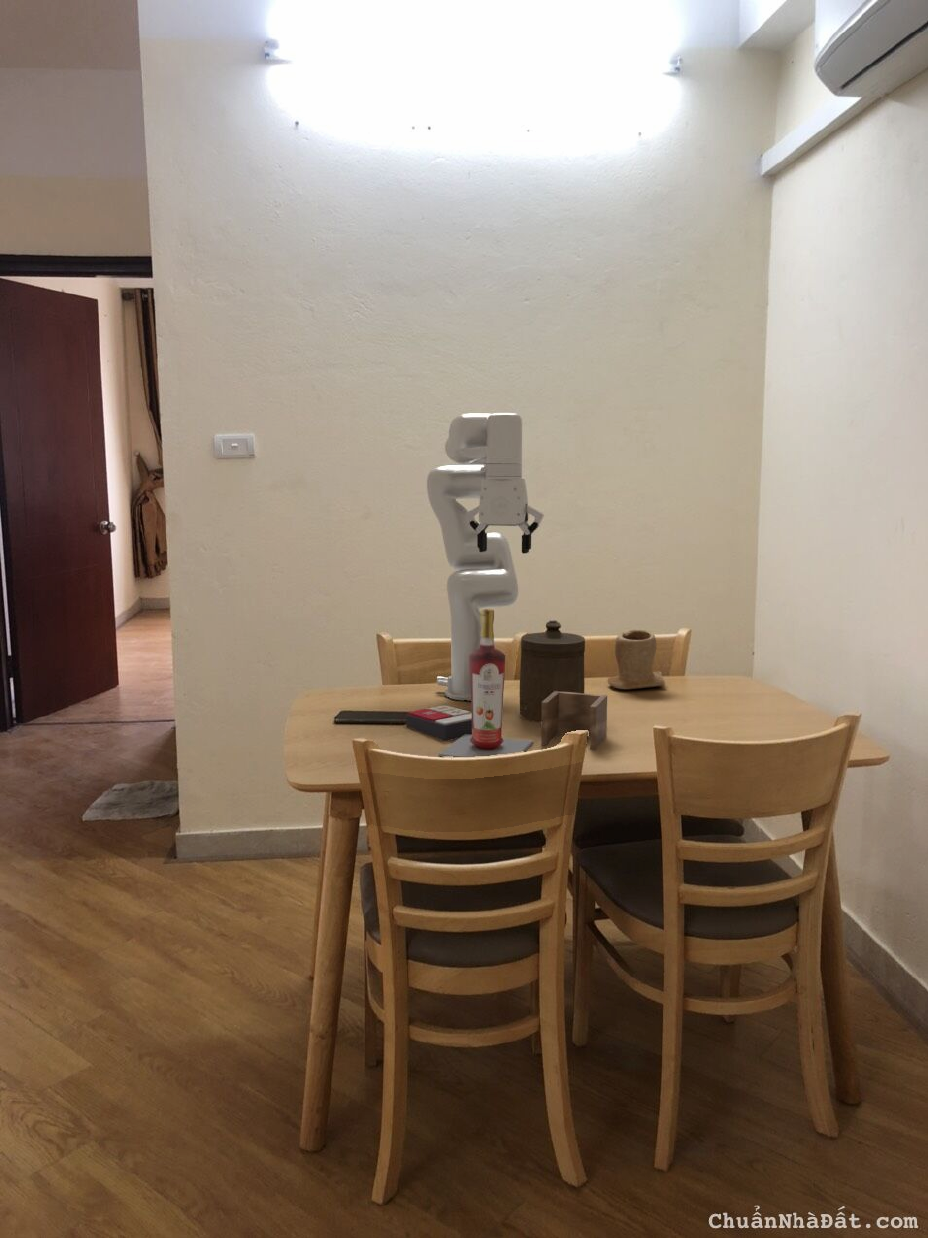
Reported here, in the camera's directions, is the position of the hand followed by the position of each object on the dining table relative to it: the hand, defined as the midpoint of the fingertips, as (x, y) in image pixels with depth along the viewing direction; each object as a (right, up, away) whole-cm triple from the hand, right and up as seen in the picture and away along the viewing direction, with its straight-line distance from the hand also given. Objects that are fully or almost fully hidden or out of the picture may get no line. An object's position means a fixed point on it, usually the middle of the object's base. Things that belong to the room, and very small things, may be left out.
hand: (504, 552), depth 208 cm
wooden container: (+12, -37, +14) cm, 41 cm away
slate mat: (-4, -41, -13) cm, 43 cm away
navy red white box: (-13, -39, +3) cm, 41 cm away
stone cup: (+36, -32, +39) cm, 63 cm away
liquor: (-4, -41, -13) cm, 43 cm away
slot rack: (+14, -40, -7) cm, 43 cm away
